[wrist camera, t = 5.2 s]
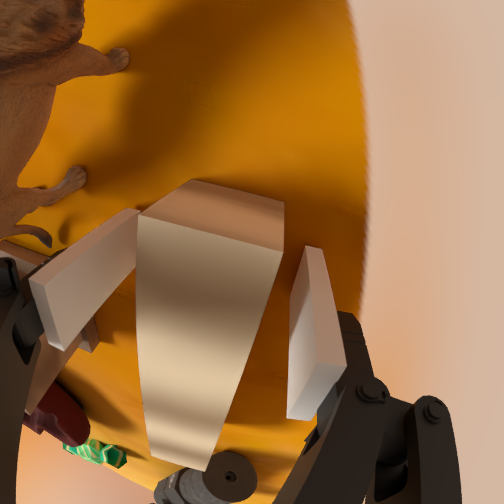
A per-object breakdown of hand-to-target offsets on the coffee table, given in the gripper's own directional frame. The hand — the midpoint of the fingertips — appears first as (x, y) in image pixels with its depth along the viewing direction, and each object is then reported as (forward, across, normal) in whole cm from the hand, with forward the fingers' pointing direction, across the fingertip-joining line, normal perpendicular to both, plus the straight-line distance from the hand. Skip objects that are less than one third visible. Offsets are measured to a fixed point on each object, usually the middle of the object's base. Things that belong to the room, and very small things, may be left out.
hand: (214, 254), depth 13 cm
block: (+1, 0, -6) cm, 6 cm away
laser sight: (+1, 0, -32) cm, 32 cm away
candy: (+1, -15, -36) cm, 39 cm away
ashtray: (+1, -22, -21) cm, 30 cm away
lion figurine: (+1, -9, +6) cm, 10 cm away
